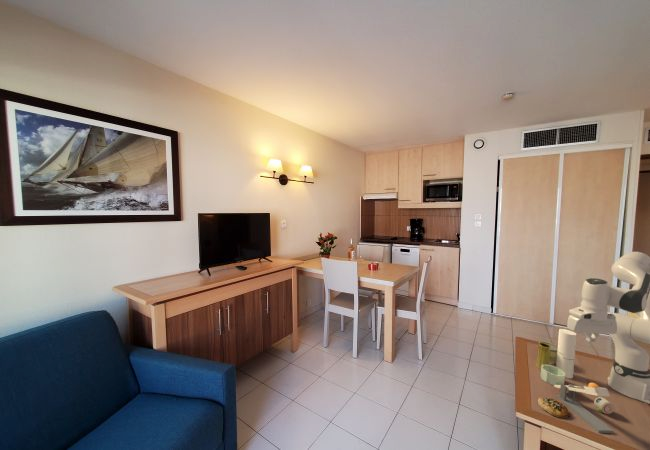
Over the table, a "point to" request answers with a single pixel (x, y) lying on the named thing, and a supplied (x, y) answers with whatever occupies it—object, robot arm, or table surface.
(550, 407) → the bread roll
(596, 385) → the ball
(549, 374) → the cup
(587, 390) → the lever
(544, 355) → the vase
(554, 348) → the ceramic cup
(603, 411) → the roller toy
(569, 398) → the catapult base
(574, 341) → the cylindrical container
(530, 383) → the table surface
